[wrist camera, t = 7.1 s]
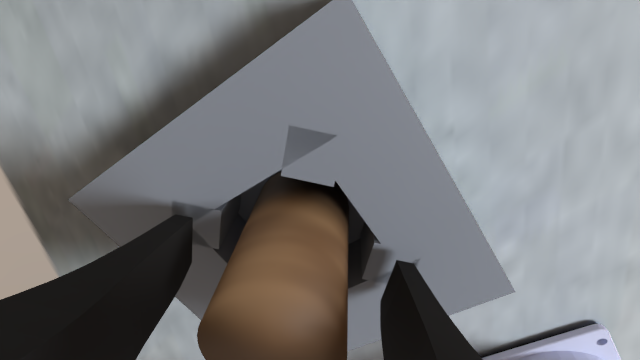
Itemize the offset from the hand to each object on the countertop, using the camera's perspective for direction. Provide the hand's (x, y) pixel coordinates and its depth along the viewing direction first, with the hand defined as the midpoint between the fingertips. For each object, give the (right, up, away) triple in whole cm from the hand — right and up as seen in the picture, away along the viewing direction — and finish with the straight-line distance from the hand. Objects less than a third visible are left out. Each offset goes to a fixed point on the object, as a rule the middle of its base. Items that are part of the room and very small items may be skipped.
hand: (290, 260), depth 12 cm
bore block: (0, +2, +4) cm, 4 cm away
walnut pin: (0, +2, +3) cm, 4 cm away
